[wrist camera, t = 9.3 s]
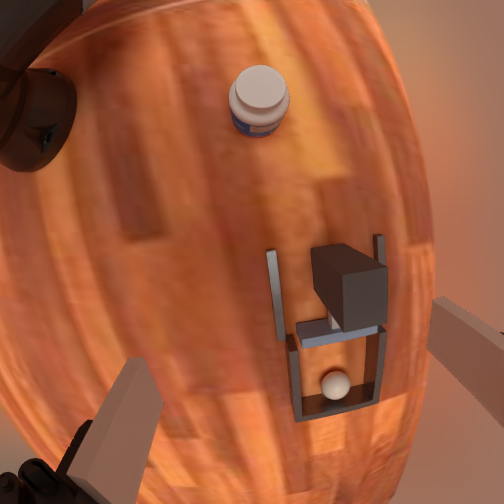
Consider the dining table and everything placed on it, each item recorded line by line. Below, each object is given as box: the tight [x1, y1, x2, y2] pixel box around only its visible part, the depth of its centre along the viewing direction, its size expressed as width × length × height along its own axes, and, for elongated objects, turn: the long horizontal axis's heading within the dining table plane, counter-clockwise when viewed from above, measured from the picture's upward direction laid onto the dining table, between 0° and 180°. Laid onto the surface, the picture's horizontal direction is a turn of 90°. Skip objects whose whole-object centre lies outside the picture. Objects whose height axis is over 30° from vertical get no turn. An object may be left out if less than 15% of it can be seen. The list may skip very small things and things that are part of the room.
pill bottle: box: [229, 65, 290, 138], centre depth 24 cm, size 6×5×10 cm
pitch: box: [266, 234, 387, 423], centre depth 32 cm, size 23×14×4 cm, turn 8°
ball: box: [321, 371, 350, 400], centre depth 33 cm, size 4×4×4 cm
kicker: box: [296, 244, 388, 349], centre depth 27 cm, size 10×9×11 cm
